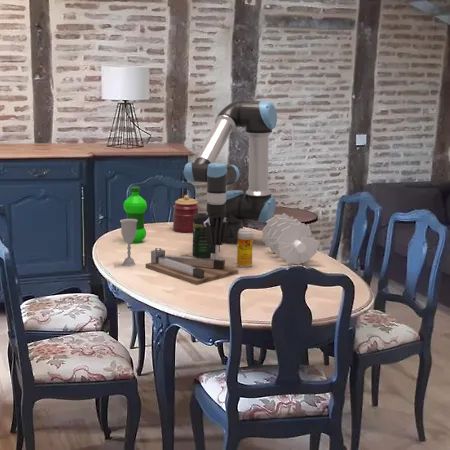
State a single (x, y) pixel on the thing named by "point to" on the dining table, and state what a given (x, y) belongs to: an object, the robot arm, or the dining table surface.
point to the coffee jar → (200, 237)
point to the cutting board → (209, 275)
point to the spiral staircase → (289, 239)
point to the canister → (184, 214)
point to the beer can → (244, 247)
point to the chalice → (128, 237)
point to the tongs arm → (198, 261)
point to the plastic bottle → (136, 212)
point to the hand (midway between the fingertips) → (215, 260)
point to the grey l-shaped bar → (174, 264)
